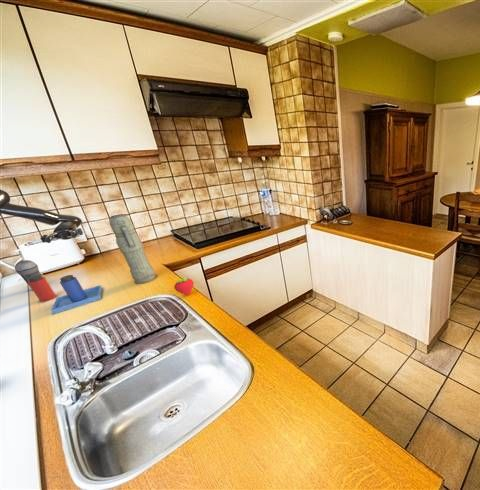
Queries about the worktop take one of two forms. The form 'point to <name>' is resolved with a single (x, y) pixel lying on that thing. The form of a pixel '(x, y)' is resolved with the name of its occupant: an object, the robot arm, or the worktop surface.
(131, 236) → the stone statue
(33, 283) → the red bottle
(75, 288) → the blue bottle
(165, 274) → the worktop surface
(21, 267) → the beverage cup
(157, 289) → the worktop surface
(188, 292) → the strawberry
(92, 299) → the blue tray
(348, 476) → the worktop surface
